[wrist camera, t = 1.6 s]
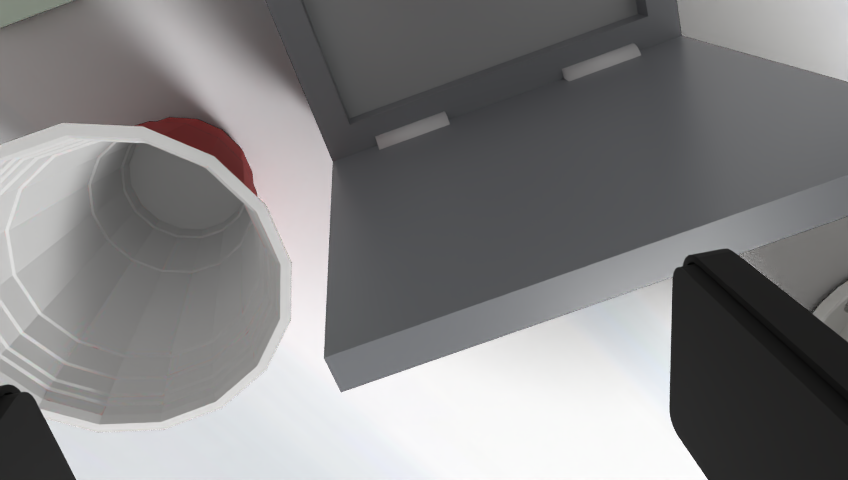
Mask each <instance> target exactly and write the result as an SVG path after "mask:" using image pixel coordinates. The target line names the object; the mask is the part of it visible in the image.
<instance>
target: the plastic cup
mask: <svg viewBox="0 0 848 480" xmlns="http://www.w3.org/2000/svg"><path fill="white" fill-rule="evenodd" d="M291 267H292V262H291V260H290V258H289V256H288V253H287V251H286V249H285V247H284V245H283V242H282V240H281V238H280V236H279V233H278V231H277V229H276V227H275V224H274V222H273V220H272V218H271V215H270V213H269V211H268V209H267V206H266V205H265V204H264V203H263V202H262V201H261V200H260V199H259V198H258V197H257V192H256V189H255V187H254V185H253V174H252V171H251V168H250V166H249V164H248V162H247V160H246V157H245V155H244V153H243V151H242V149H241V148H240V147H239V146H238V145H237V144H236V143H235V142H234V141H233V140H232V139H231V138H230V137H229V136H228V135H227V134H226V133H225V132H224V131H223V130H221V129H219V128H217V127H214V126H212V125H210V124H208V123H205V122H203V121H201V120H198V119H189V118H173V117H169V118H166V119H163V120H160V121H157V122H155V121H149V122H146V123H142V124H139V125H135V126H122V125H100V124H78V123H60V124H58V125H55V126H52V127H49V128H46V129H43V130H40V131H37V132H35V133H32V134H29V135H26V136H23V137H20V138H17V139H14V140H11V141H9V142H6V143H3V144H0V386H1V385H7V384H10V385H14V386H15V387H17V388H18V389H19V390H20V391H21V392H28V393H30V394H31V395H32V396H33V397H34V399H35V400H36V402H37V404H38V406H39V408H40V410H41V412H42V414H43V416H44V418H45V419H48V420H52V421H56V422H60V423H64V424H67V425H71V426H75V427H79V428H83V429H86V430H90V431H94V432H98V433H100V432H123V431H147V430H165V429H167V428H170V427H173V426H175V425H178V424H181V423H183V422H186V421H189V420H192V419H194V418H197V417H200V416H202V415H205V414H208V413H210V412H213V411H216V410H218V409H221V408H223V407H224V406H225V405H226V404H227V403H229V402H230V401H231V400H232V399H233V398H234V397H236V396H237V395H238V394H239V393H240V392H241V391H243V390H244V389H245V388H246V387H247V386H248V385H250V384H251V383H252V382H253V381H254V380H255V379H257V378H258V377H259V376H260V375H261V374H262V373H264V372H265V371H266V369H267V367H268V365H269V363H270V361H271V359H272V357H273V355H274V353H275V351H276V349H277V347H278V345H279V343H280V341H281V339H282V337H283V335H284V333H285V331H286V329H287V327H288V325H289V323H290V321H291Z"/></svg>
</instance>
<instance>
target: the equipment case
mask: <svg viewBox="0 0 848 480" xmlns="http://www.w3.org/2000/svg"><path fill="white" fill-rule="evenodd" d="M266 3H267V5H268V8H269V10H270V12H271V15H272V17H273V20H274V22H275V24H276V27H277V29H278V32H279V34H280V36H281V39H282V41H283V43H284V46H285V48H286V51H287V53H288V55H289V58H290V60H291V63H292V65H293V67H294V70H295V72H296V75H297V77H298V79H299V82H300V84H301V87H302V89H303V91H304V94H305V96H306V98H307V101H308V103H309V106H310V108H311V110H312V113H313V115H314V118H315V120H316V122H317V125H318V127H319V130H320V132H321V134H322V137H323V139H324V141H325V144H326V146H327V149H328V151H329V153H330V156H331V158H332V161H333V170H332V192H331V215H330V237H329V259H328V281H327V303H326V325H325V347H324V359H325V361H326V363H327V365H328V367H329V369H330V371H331V373H332V375H333V377H334V379H335V381H336V383H337V385H338V387H339V389H340V391H341V392H343V391H346V390H349V389H352V388H355V387H358V386H361V385H364V384H366V383H369V382H372V381H375V380H378V379H381V378H384V377H387V376H389V375H392V374H395V373H398V372H401V371H404V370H407V369H410V368H412V367H415V366H418V365H421V364H424V363H427V362H430V361H433V360H436V359H438V358H441V357H444V356H447V355H450V354H453V353H456V352H459V351H461V350H464V349H467V348H470V347H473V346H476V345H479V344H482V343H485V342H487V341H490V340H493V339H496V338H499V337H502V336H505V335H508V334H510V333H513V332H516V331H519V330H522V329H525V328H528V327H531V326H533V325H536V324H539V323H542V322H545V321H548V320H551V319H554V318H557V317H559V316H562V315H565V314H568V313H571V312H574V311H577V310H580V309H582V308H585V307H588V306H591V305H594V304H597V303H600V302H603V301H606V300H608V299H611V298H614V297H617V296H620V295H623V294H626V293H629V292H631V291H634V290H637V289H640V288H643V287H646V286H649V285H652V284H654V283H657V282H660V281H663V280H666V279H669V278H672V277H673V273H674V270H675V269H676V268H677V267H681V266H683V262H684V260H685V258H686V257H687V256H688V255H692V254H697V253H703V252H708V251H713V250H718V249H726V248H728V249H730V250H732V251H733V252H735V253H736V254H737V255H738V254H741V253H744V252H747V251H750V250H752V249H755V248H758V247H761V246H764V245H767V244H770V243H773V242H775V241H778V240H781V239H784V238H787V237H790V236H793V235H796V234H799V233H801V232H804V231H807V230H810V229H813V228H816V227H819V226H822V225H824V224H827V223H830V222H833V221H836V220H839V219H842V218H845V217H847V216H848V82H846V81H842V80H839V79H835V78H832V77H828V76H825V75H821V74H817V73H814V72H810V71H807V70H803V69H799V68H796V67H792V66H789V65H785V64H781V63H778V62H774V61H771V60H767V59H764V58H760V57H756V56H753V55H749V54H746V53H742V52H738V51H735V50H731V49H728V48H724V47H721V46H717V45H713V44H710V43H706V42H703V41H699V40H695V39H692V38H688V37H685V36H682V34H681V27H680V20H679V14H678V7H677V0H266Z"/></svg>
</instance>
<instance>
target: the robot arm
mask: <svg viewBox="0 0 848 480" xmlns="http://www.w3.org/2000/svg"><path fill="white" fill-rule="evenodd" d="M670 417H671V421H672V424H673V427H674V429H675V431H676V433H677V435H678V436H679V438H680V439H681V441H682V442H683V444H684V445H685V447H686V448H687V450H688V451H689V452H690V454H691V455H692V457H693V458H694V460H695V461H696V463H697V464H698V466H699V467H700V468H701V470H702V471H703V473H704V474H705V476H706V477H707V479H708V480H848V281H847V282H845V283H844V284H842V285H841V286H839V287H838V288H837V289H836V290H834V291H833V292H832V293H831V294H830V295H829V296H828V297H827V298H826V299H825V300H824V301H822V302H821V304H820V305H819V306H818V307H817V308H816V310H815V311H814V312H813V313H811V312H809V311H808V310H807V309H806V308H804V307H803V306H802V305H800V304H799V303H798V302H797V301H795V300H794V299H793V298H792V297H790V296H789V295H788V294H787V293H785V292H784V291H783V290H781V289H780V288H779V287H778V286H776V285H775V284H774V283H773V282H771V281H770V280H769V279H768V278H766V277H765V276H764V275H762V274H761V273H760V272H759V271H757V270H756V269H755V268H754V267H752V266H751V265H750V264H749V263H747V262H746V261H745V260H744V259H742V258H741V257H740V256H738V255H737V254H736V253H735V252H733V251H732V250H730V249H728V248H726V249H718V250H713V251H708V252H703V253H697V254H692V255H688V256H687V257H686V258H685V260H684V262H683V266H681V267H677V268H676V269H675V270H674V273H673V288H672V329H671V369H670ZM0 480H76V479H75V477H74V475H73V473H72V471H71V469H70V467H69V465H68V463H67V461H66V459H65V457H64V455H63V453H62V451H61V449H60V447H59V445H58V443H57V441H56V440H55V438H54V436H53V434H52V432H51V430H50V428H49V426H48V424H47V422H46V420H45V418H44V416H43V414H42V412H41V410H40V408H39V406H38V404H37V402H36V400H35V399H34V397H33V396H32V395H31V394H30V393H28V392H21V391H20V390H19V389H18V388H17V387H15V386H14V385H10V384H7V385H1V386H0Z"/></svg>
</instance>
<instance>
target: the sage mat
mask: <svg viewBox="0 0 848 480" xmlns="http://www.w3.org/2000/svg"><path fill="white" fill-rule="evenodd" d="M71 1H74V0H0V28H2V27H5V26H8V25H10V24H13V23H16V22H18V21H21V20H24V19H26V18H29V17H32V16H34V15H37V14H40V13H42V12H45V11H48V10H50V9H53V8H56V7H58V6H61V5H63V4H66V3H69V2H71Z"/></svg>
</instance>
